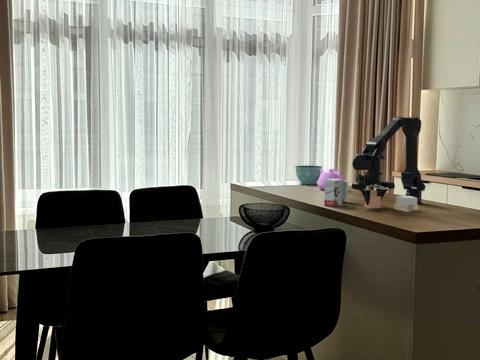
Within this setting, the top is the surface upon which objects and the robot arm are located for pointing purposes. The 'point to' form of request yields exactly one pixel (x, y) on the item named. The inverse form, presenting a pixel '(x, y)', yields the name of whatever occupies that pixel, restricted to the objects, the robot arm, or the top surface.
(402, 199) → the tower top
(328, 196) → the ink box
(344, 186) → the cup
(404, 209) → the tower base
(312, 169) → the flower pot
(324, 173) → the teapot
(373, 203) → the cube
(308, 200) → the top surface
